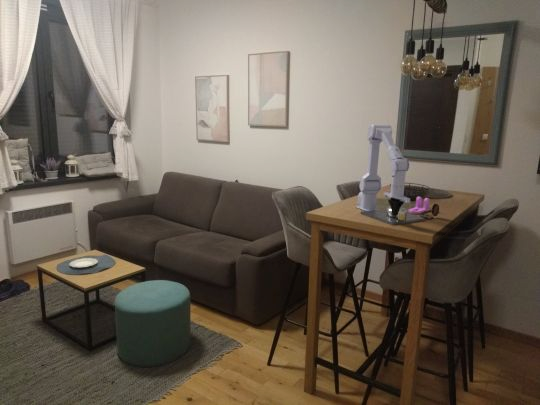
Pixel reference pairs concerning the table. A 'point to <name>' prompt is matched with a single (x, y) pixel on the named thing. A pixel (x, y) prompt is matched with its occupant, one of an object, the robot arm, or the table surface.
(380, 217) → the plate
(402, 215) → the silver disc with handle
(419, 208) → the bracket
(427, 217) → the compass
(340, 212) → the table surface
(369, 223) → the table surface
